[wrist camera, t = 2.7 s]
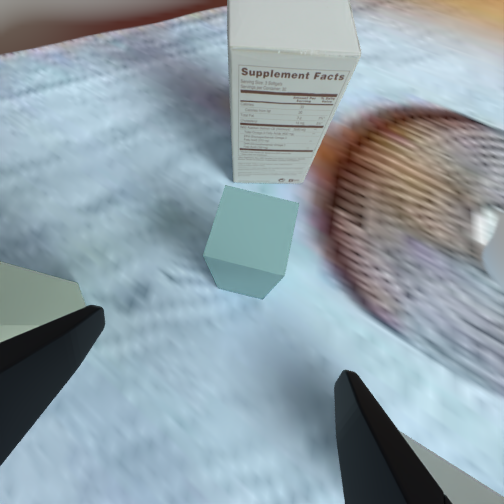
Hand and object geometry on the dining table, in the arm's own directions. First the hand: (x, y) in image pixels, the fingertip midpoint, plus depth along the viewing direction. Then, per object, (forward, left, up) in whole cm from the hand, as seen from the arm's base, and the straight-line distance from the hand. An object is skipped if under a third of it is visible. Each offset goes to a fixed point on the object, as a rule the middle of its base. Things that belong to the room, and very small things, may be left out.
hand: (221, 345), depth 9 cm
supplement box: (+12, +14, -12) cm, 22 cm away
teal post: (+4, +4, -12) cm, 13 cm away
